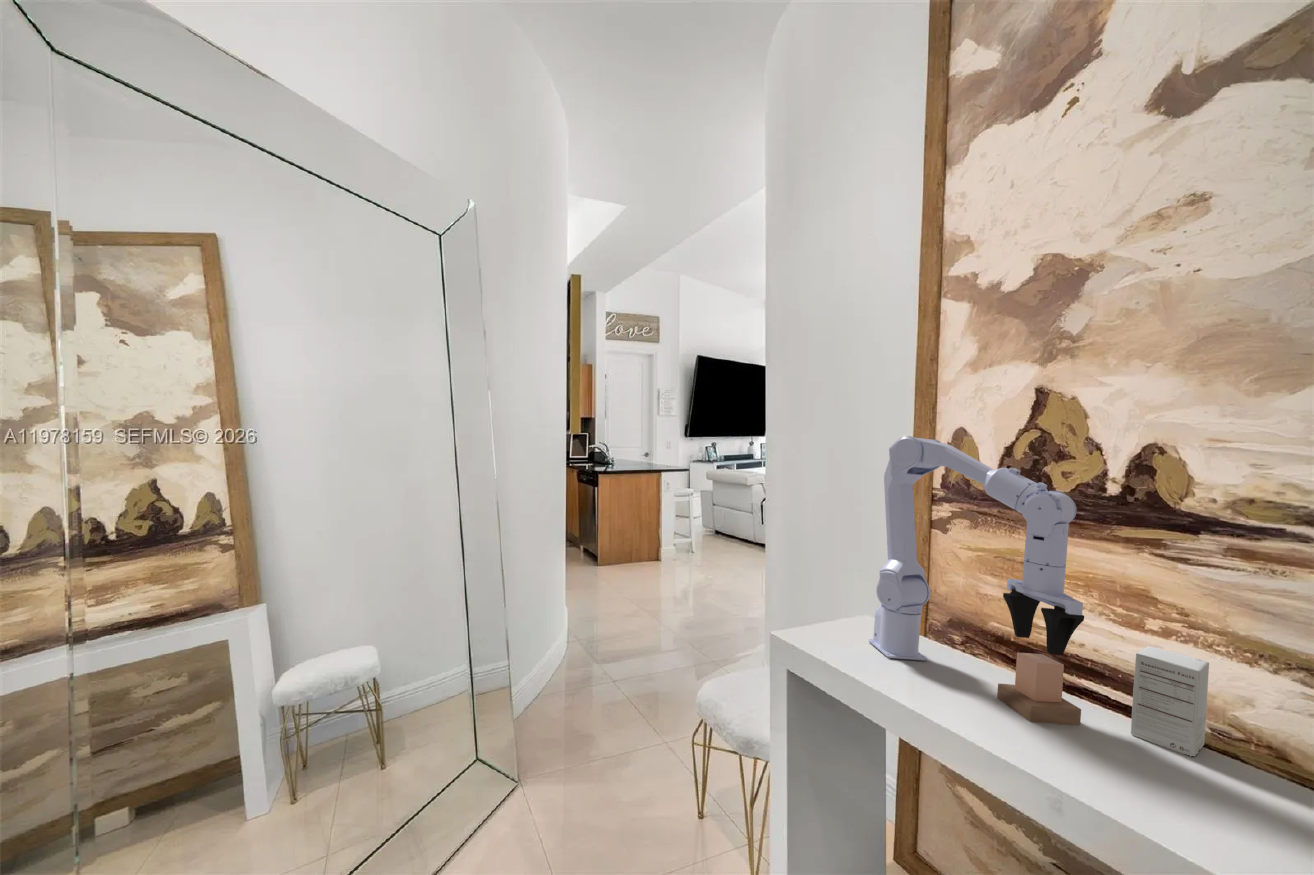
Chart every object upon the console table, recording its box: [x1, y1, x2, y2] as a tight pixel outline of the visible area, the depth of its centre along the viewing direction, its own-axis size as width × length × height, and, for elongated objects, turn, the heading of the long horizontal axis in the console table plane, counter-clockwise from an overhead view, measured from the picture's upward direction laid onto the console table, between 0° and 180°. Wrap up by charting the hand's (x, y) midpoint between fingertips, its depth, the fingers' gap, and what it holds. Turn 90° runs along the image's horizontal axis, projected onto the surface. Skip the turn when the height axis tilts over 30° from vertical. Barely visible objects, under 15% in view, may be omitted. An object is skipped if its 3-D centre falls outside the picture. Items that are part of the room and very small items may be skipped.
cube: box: [1014, 652, 1065, 702], centre depth 90 cm, size 4×4×6 cm
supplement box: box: [1130, 646, 1210, 757], centre depth 84 cm, size 7×7×13 cm
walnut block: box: [996, 683, 1082, 726], centre depth 90 cm, size 8×8×3 cm
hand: (1038, 645), depth 92 cm, fingers open, 7 cm apart
